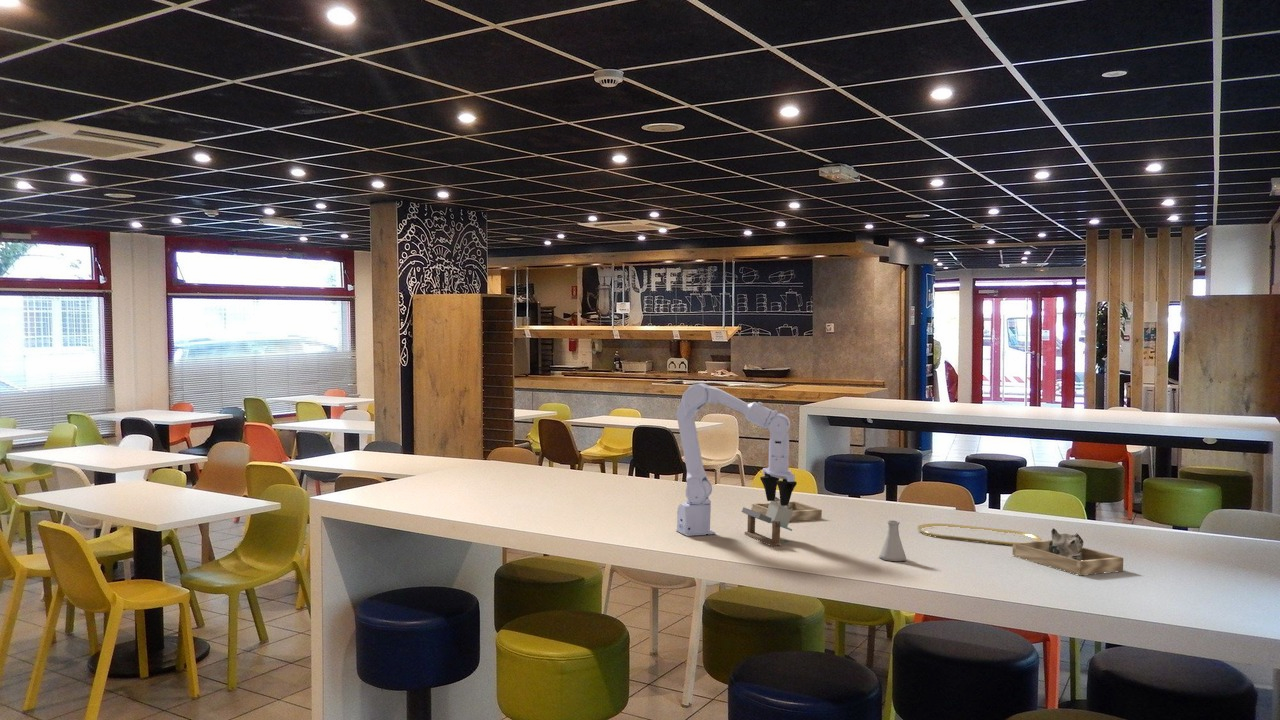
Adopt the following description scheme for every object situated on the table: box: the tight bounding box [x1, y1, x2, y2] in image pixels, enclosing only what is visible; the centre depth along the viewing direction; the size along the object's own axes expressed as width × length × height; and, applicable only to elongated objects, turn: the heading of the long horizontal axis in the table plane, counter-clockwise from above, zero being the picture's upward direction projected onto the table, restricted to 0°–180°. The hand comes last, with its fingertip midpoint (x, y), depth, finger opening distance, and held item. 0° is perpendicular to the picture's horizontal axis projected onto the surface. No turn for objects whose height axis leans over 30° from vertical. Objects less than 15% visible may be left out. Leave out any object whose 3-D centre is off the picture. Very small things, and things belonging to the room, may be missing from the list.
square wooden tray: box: [750, 501, 823, 522], centre depth 293 cm, size 17×16×3 cm
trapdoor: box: [741, 506, 793, 532], centre depth 256 cm, size 11×12×2 cm
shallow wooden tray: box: [1011, 539, 1124, 576], centre depth 235 cm, size 15×22×4 cm
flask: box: [878, 519, 907, 562], centre depth 236 cm, size 7×7×10 cm
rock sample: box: [768, 496, 793, 511], centre depth 292 cm, size 10×8×9 cm
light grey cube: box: [766, 501, 793, 527], centre depth 257 cm, size 5×5×5 cm
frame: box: [744, 515, 782, 547], centre depth 255 cm, size 3×17×7 cm, turn 22°
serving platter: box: [917, 523, 1043, 546], centre depth 267 cm, size 19×35×2 cm, turn 65°
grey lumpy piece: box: [1049, 528, 1084, 561], centre depth 235 cm, size 16×9×10 cm, turn 160°
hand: (777, 503), depth 257 cm, fingers open, 7 cm apart
